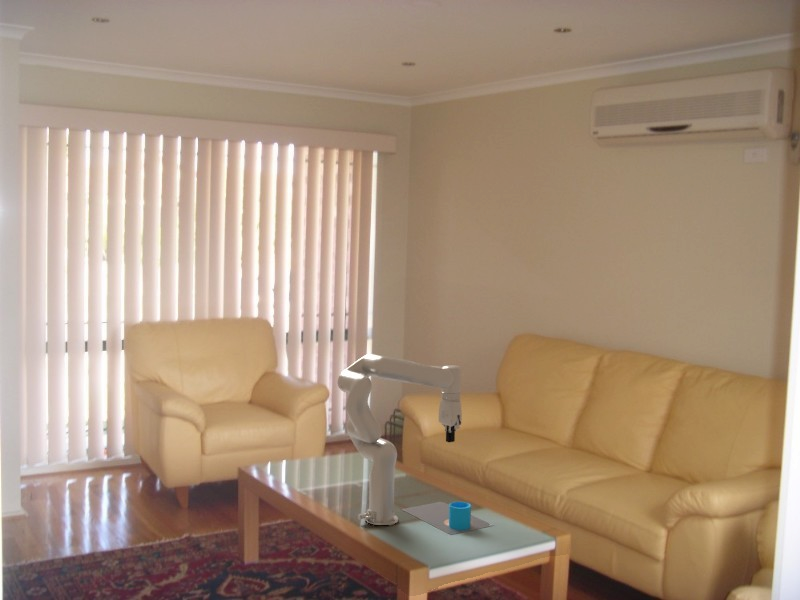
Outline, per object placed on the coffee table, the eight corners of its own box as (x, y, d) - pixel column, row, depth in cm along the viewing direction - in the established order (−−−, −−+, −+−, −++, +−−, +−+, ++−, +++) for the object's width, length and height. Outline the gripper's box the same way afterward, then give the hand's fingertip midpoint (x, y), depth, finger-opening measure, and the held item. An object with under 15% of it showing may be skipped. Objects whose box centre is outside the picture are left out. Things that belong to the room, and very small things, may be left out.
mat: (451, 534, 314) (451, 534, 314) (400, 509, 343) (400, 509, 343) (493, 525, 325) (493, 525, 325) (441, 501, 354) (441, 501, 354)
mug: (473, 529, 320) (473, 507, 320) (452, 530, 319) (452, 509, 318) (464, 518, 332) (464, 498, 331) (443, 520, 330) (444, 499, 330)
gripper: (432, 394, 347) (431, 438, 348) (454, 400, 334) (453, 446, 335) (447, 392, 351) (446, 436, 352) (469, 398, 338) (469, 444, 339)
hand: (450, 441), depth 344 cm, fingers closed
